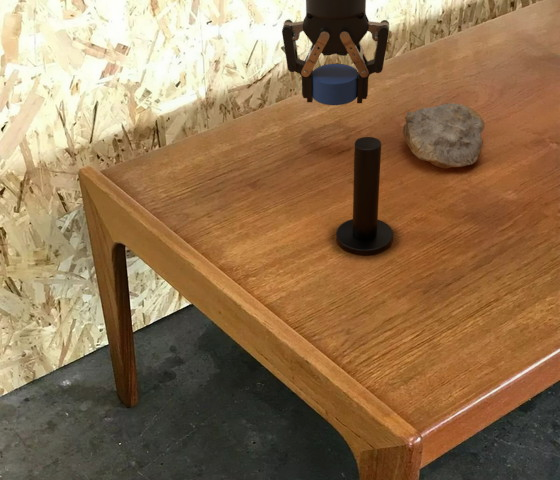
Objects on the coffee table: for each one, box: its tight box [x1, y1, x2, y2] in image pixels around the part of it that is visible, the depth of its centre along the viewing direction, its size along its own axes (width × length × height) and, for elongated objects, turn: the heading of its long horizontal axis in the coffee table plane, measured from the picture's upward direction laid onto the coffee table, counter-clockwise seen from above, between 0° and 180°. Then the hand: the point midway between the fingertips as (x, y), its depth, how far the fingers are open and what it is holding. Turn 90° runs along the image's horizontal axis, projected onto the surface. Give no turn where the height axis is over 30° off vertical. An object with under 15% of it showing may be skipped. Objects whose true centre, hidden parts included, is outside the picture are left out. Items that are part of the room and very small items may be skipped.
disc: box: [312, 63, 358, 106], centre depth 107 cm, size 6×6×3 cm
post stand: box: [335, 136, 394, 256], centre depth 94 cm, size 7×7×13 cm
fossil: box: [402, 102, 485, 169], centre depth 110 cm, size 12×8×10 cm
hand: (335, 100), depth 109 cm, fingers closed on disc, 6 cm apart
